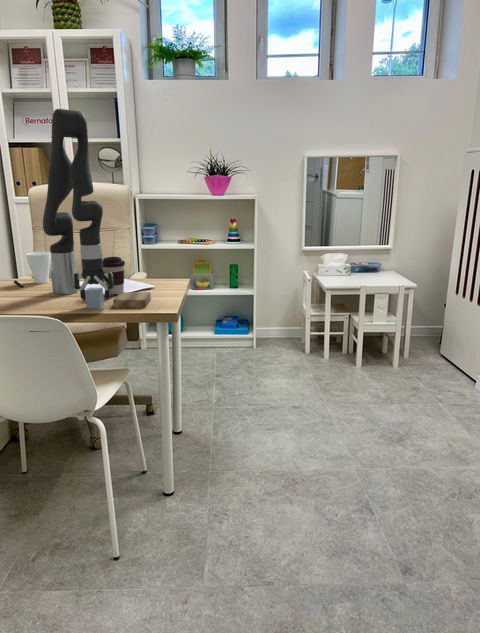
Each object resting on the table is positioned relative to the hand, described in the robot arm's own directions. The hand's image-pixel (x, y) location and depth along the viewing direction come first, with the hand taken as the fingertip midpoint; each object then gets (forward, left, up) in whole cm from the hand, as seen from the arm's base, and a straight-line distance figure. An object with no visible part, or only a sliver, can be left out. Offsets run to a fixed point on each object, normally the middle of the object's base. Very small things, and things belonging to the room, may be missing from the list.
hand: (95, 299), depth 180 cm
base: (+13, +5, -3) cm, 14 cm away
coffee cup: (+2, +22, -3) cm, 23 cm away
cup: (-37, +44, -3) cm, 58 cm away
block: (0, 0, -3) cm, 3 cm away
